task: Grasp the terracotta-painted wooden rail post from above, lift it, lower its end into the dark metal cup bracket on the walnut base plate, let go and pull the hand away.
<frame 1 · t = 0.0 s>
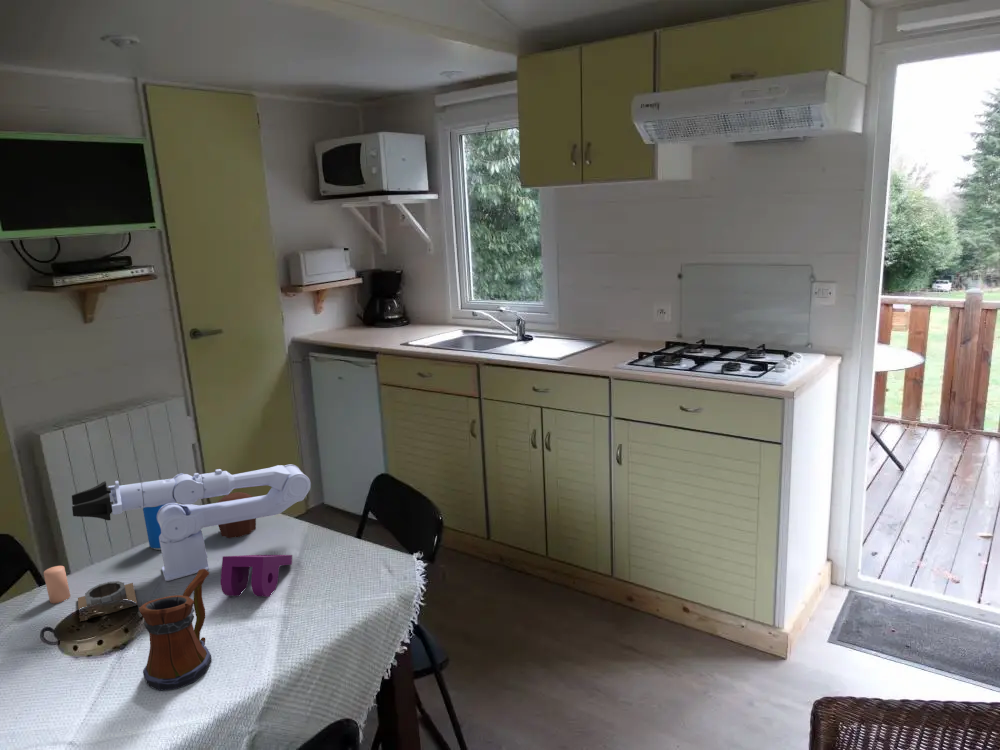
hand: (72, 505, 156), 22 cm above the table, tool horizontal, fingers open, 7 cm apart
mug: (189, 662, 135), on the table
muffin: (238, 531, 191), on the table
mounting bracket: (263, 582, 163), on the table
beverage can: (163, 546, 184), on the table
rail post: (60, 598, 161), on the table
cup bracket: (107, 603, 157), on the table
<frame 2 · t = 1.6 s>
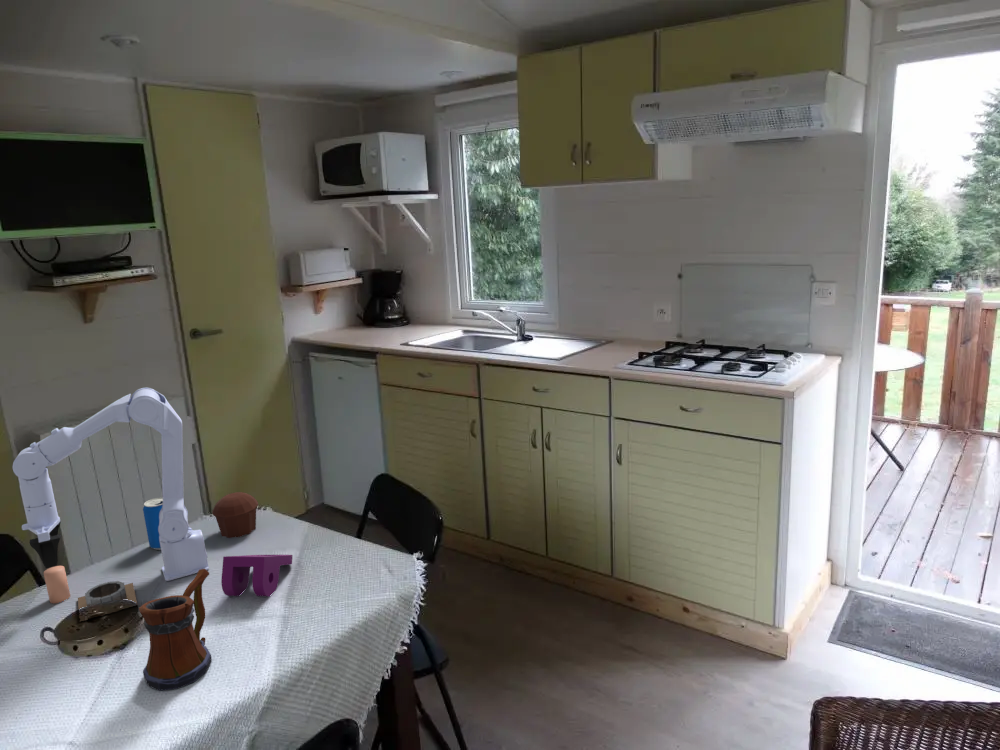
hand: (51, 560, 158), 9 cm above the table, tool pointing down, fingers open, 7 cm apart
nothing on the table moved.
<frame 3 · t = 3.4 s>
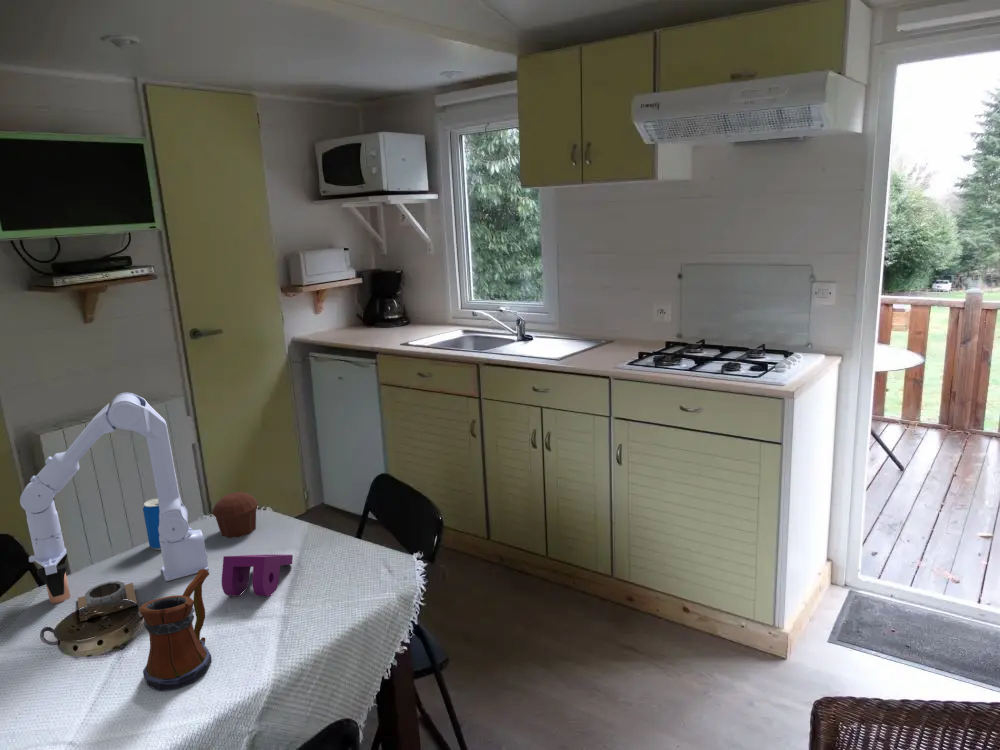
hand: (58, 590, 160), 2 cm above the table, tool pointing down, fingers closed on rail post, 4 cm apart
rail post: (60, 598, 161), on the table, touching gripper
everything else where it was.
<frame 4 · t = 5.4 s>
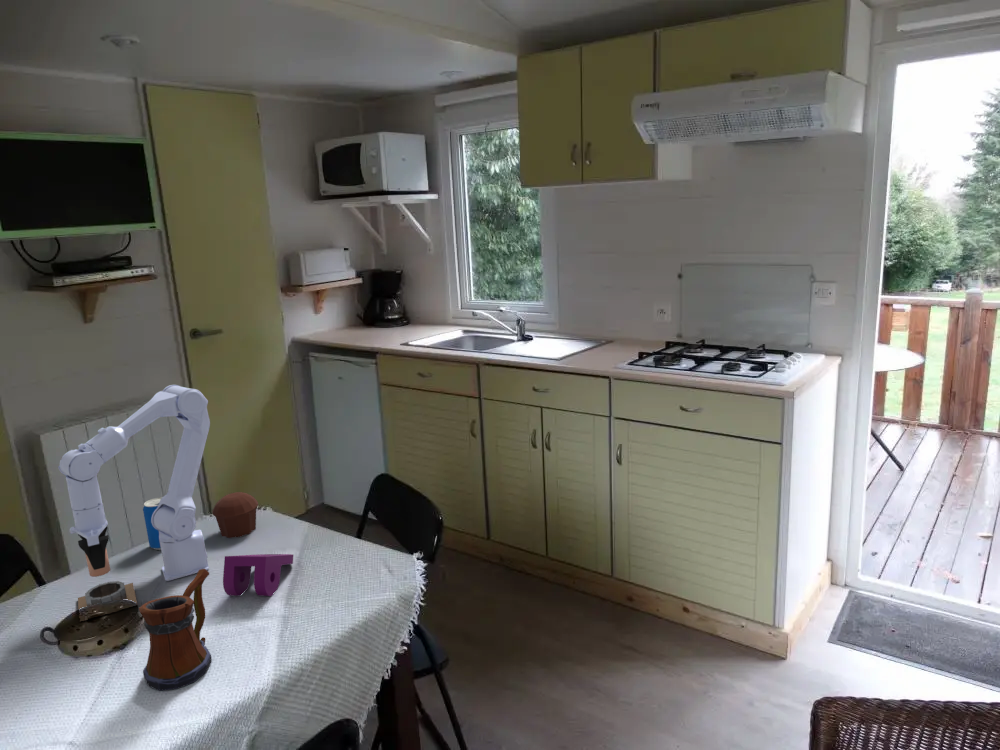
hand: (99, 563, 155), 9 cm above the table, tool pointing down, fingers closed on rail post, 4 cm apart
rail post: (100, 572, 156), point 7 cm above the table, touching gripper
everything else where it was.
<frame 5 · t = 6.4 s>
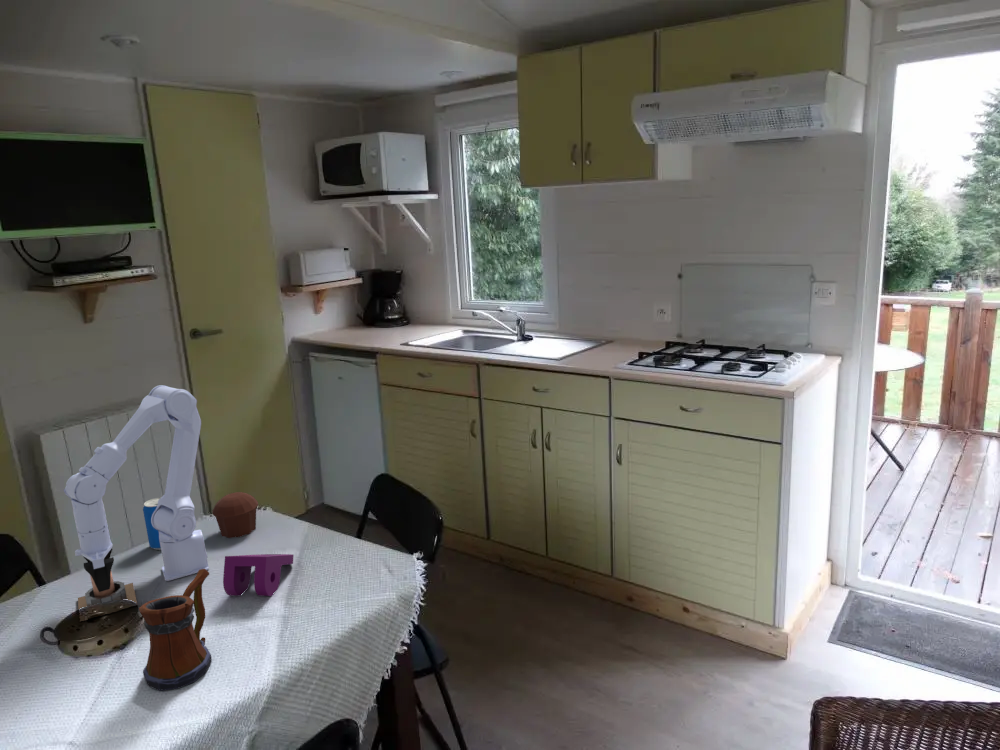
hand: (104, 585, 156), 4 cm above the table, tool pointing down, fingers closed on rail post, 4 cm apart
rail post: (104, 593, 157), point 2 cm above the table, touching gripper
everything else where it was.
when the fingers open (4 cm above the table, at t = 7.3 s): rail post drops 1 cm, resting on cup bracket.
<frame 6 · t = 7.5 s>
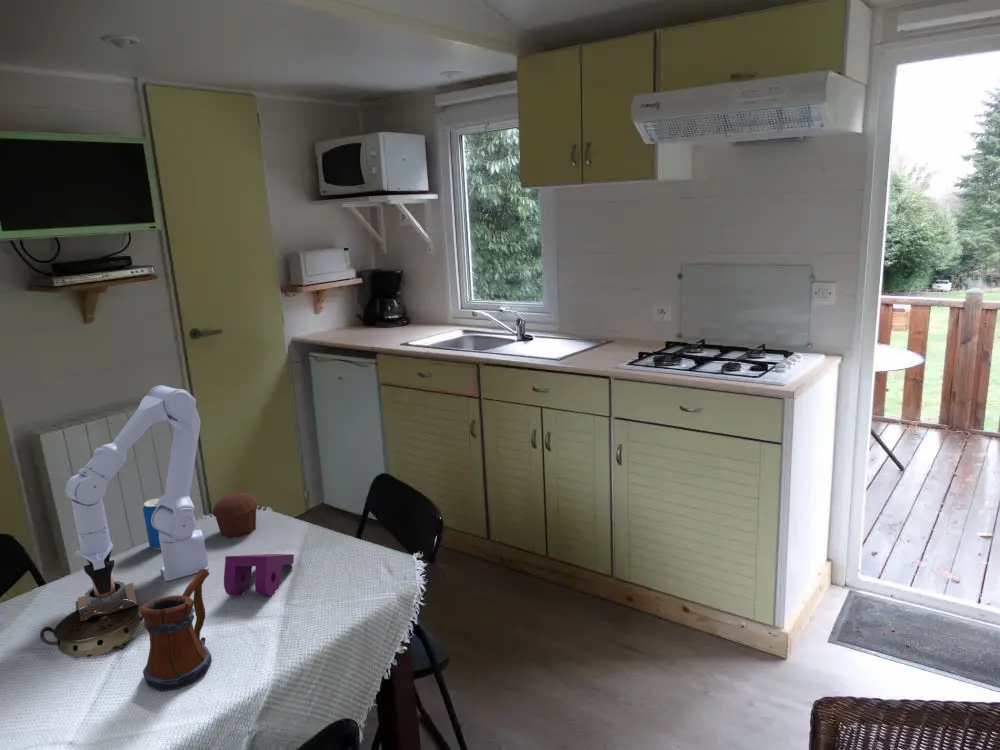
hand: (104, 586, 156), 4 cm above the table, tool pointing down, fingers open, 6 cm apart
rail post: (106, 600, 157), point 1 cm above the table, touching cup bracket
everything else where it was.
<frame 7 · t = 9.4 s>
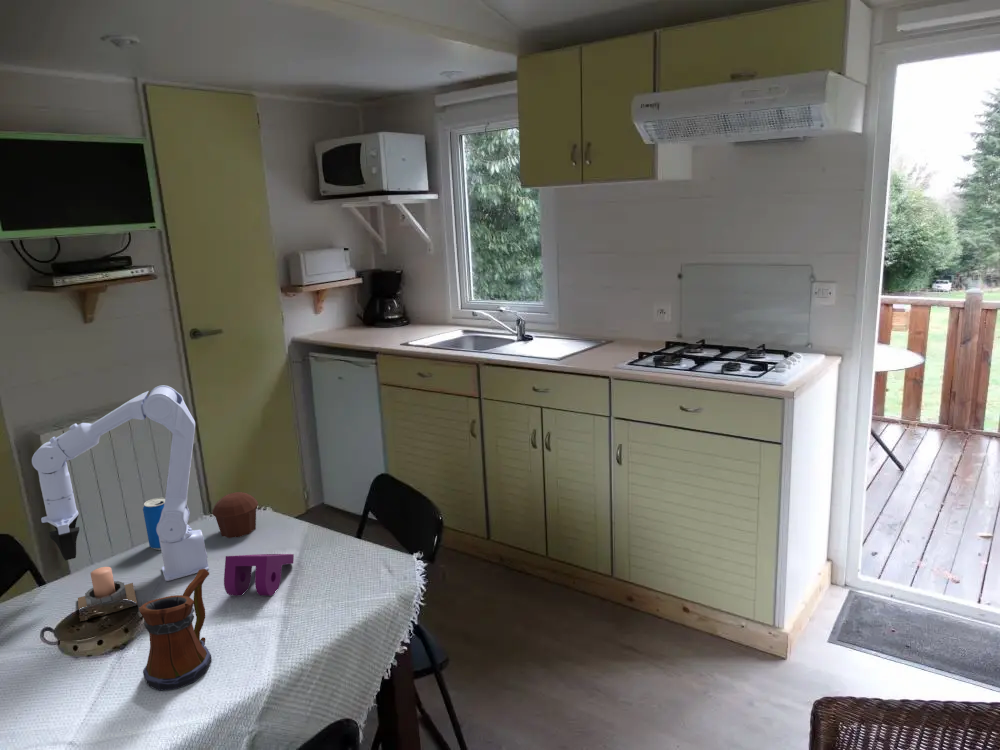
hand: (70, 552, 162), 9 cm above the table, tool pointing down, fingers open, 7 cm apart
nothing on the table moved.
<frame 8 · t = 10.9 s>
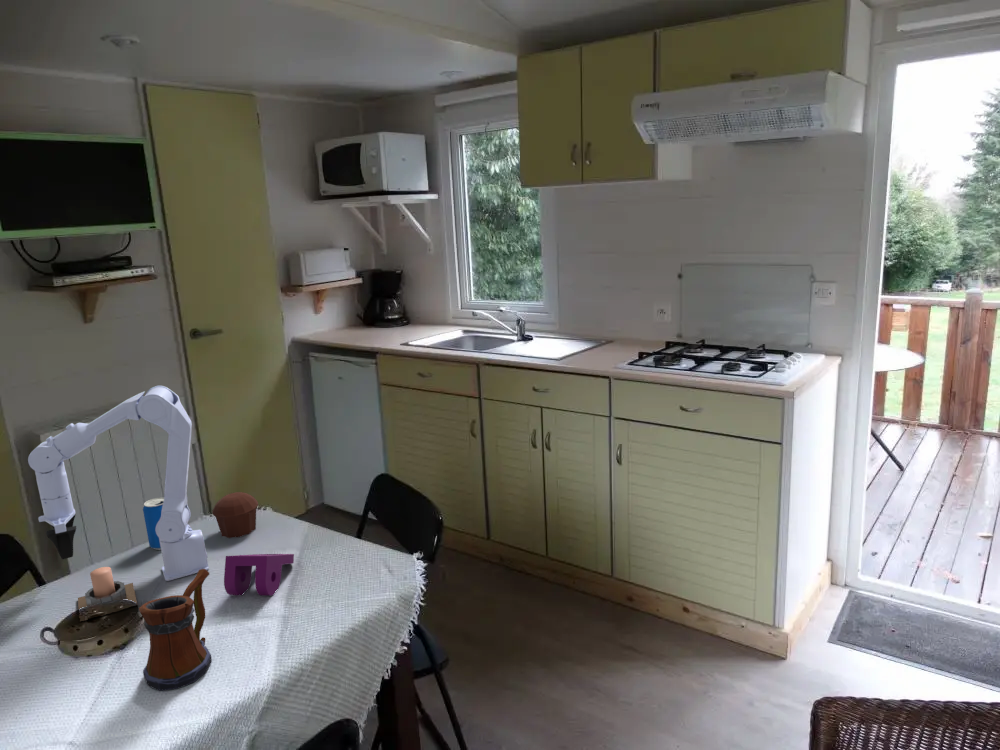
hand: (67, 551, 162), 9 cm above the table, tool pointing down, fingers open, 7 cm apart
nothing on the table moved.
at the end: rail post 0.1 cm off-centre on the cup bracket, point 0.6 cm above the cup bracket's base; rail post tilted 0°; the gripper is holding nothing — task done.
